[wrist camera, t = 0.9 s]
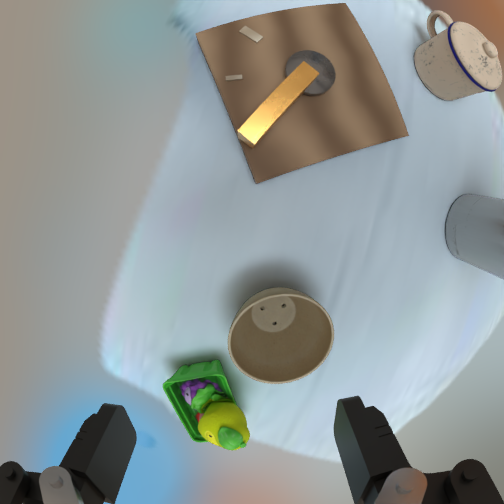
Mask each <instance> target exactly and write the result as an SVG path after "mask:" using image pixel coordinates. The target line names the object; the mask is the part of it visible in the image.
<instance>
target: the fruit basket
mask: <svg viewBox="0 0 504 504" xmlns="http://www.w3.org/2000/svg"><path fill="white" fill-rule="evenodd" d="M163 389H164V391H165V393H166V395H167V397H168V398H169V400H170V402H171V404H172V406H173V408H174V409H175V411H176V413H177V415H178V416H179V418H180V420H181V422H182V423H183V425H184V426H185V428H186V430H187V431H188V433H189V435H190V437H191V438H192V440H194V441H196V442H211V443H212V444H215V445H218V446H220V447H223V448H225V449H228V450H237V449H239V448H244V447H245V446H246V443H247V442H248V440H249V437H250V433H249V430H248V428H247V422H246V418H245V415H244V413H243V412H242V411H241V409H240V408H239V407H238V406H237V404H236V402H235V400H234V397H233V395H232V392H231V390H230V387H229V384H228V382H227V379H226V376H225V375H224V372H223V369H222V366H221V363H220V361H219V360H214V361H212V362H202V363H196V364H192V365H190V366H187V365H183V366H181V367H180V368H179V370H178V371H177V372H176V373H175V374H174V375H173V376H172V377H171V378H170V379H168V380H167V381H166V382H165V383H164V384H163Z"/></svg>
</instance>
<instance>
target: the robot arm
mask: <svg viewBox="0 0 504 504" xmlns="http://www.w3.org/2000/svg"><path fill="white" fill-rule="evenodd" d="M446 240H447V245H448V247H449V250H450V252H451V253H452V254H453V255H454V256H455V257H456V258H458V259H460V260H462V261H465V262H467V263H469V264H471V265H474V266H475V267H478V268H480V269H482V270H484V271H486V272H489V273H491V274H493V275H495V276H497V277H499V278H501V279H504V199H499V198H492V197H486V196H479V195H472V194H465V195H462V196H460V197H459V198H458V199H457V200H456V201H455V202H454V203H453V205H452V207H451V209H450V211H449V214H448V217H447V222H446ZM334 436H335V441H336V444H337V447H338V450H339V454H340V457H341V460H342V463H343V467H344V470H345V473H346V477H347V480H348V483H349V486H350V490H351V493H352V497H353V500H354V503H355V504H504V502H503V500H502V498H501V496H500V494H499V492H498V490H497V488H496V487H495V484H494V483H493V481H492V479H491V477H490V475H489V474H488V472H487V470H486V468H485V466H484V465H483V464H482V463H481V462H479V461H477V460H474V459H467V460H464V461H461V462H459V463H458V464H457V465H456V466H455V467H454V468H453V470H451V471H445V472H438V473H422V472H421V471H419V470H417V469H415V468H412V467H411V466H410V464H409V463H408V461H407V459H406V457H405V455H404V453H403V451H402V449H401V447H400V445H399V443H398V441H397V439H396V437H395V435H394V434H393V431H392V429H391V427H390V426H389V423H388V422H387V420H386V418H385V416H384V414H383V413H382V412H381V411H379V410H378V409H377V408H375V407H374V406H371V407H367V408H365V406H364V404H363V402H362V400H361V398H360V397H359V396H354V397H349V398H344V399H339V400H338V402H337V408H336V415H335V421H334ZM135 445H136V431H135V429H134V427H133V425H132V423H131V421H130V419H129V417H128V415H127V413H126V410H125V408H124V407H123V406H121V405H114V404H107V403H104V404H103V405H102V406H101V408H100V409H99V411H98V413H97V414H92V415H91V416H90V417H89V418H88V419H86V420H85V421H84V423H83V425H82V426H81V428H80V432H78V433H77V435H76V439H74V440H73V442H72V444H71V446H70V447H69V449H68V451H67V453H66V455H65V456H64V458H63V460H62V462H61V464H60V465H59V466H52V467H49V468H47V469H45V470H44V471H43V472H42V473H36V472H27V471H25V470H24V469H23V468H22V467H21V466H20V465H19V464H18V463H16V462H13V461H10V462H6V463H4V464H3V465H1V466H0V504H22V503H23V504H103V503H104V502H107V503H111V504H115V501H116V498H117V495H118V492H119V489H120V486H121V483H122V480H123V478H124V475H125V472H126V469H127V466H128V463H129V461H130V458H131V455H132V452H133V450H134V447H135Z"/></svg>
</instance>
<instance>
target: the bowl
mask: <svg viewBox="0 0 504 504" xmlns="http://www.w3.org/2000/svg"><path fill="white" fill-rule="evenodd" d="M283 304H284V305H283ZM282 305H283V306H282ZM261 309H263V310H261ZM275 322H276V324H275ZM333 340H334V328H333V324H332V321H331V318H330V316H329V315H328V313H327V312H326V310H325V309H324V308H323V307H322V306H321V305H320V304H319V303H318V302H316V301H315V300H314V299H312V298H311V297H309V296H308V295H306V294H304V293H302V292H300V291H297V290H294V289H290V288H283V287H276V288H269V289H266V290H263V291H261V292H258V293H257V294H255V295H254V296H252V297H251V298H250V299H248V300H247V301H246V302H245V303H244V305H243V306H242V307H241V308H240V310H239V311H238V313H237V314H236V316H235V318H234V320H233V322H232V325H231V328H230V331H229V335H228V350H229V354H230V357H231V359H232V361H233V363H234V364H235V366H236V367H237V368H238V369H239V370H240V371H241V372H242V373H243V374H245V375H246V376H248V377H250V378H252V379H254V380H256V381H259V382H264V383H270V384H282V383H288V382H292V381H296V380H298V379H301V378H303V377H305V376H307V375H309V374H310V373H312V372H313V371H315V370H316V369H317V368H318V367H319V366H320V365H321V364H322V363H323V362H324V360H325V359H326V358H327V356H328V354H329V353H330V350H331V348H332V345H333Z"/></svg>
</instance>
